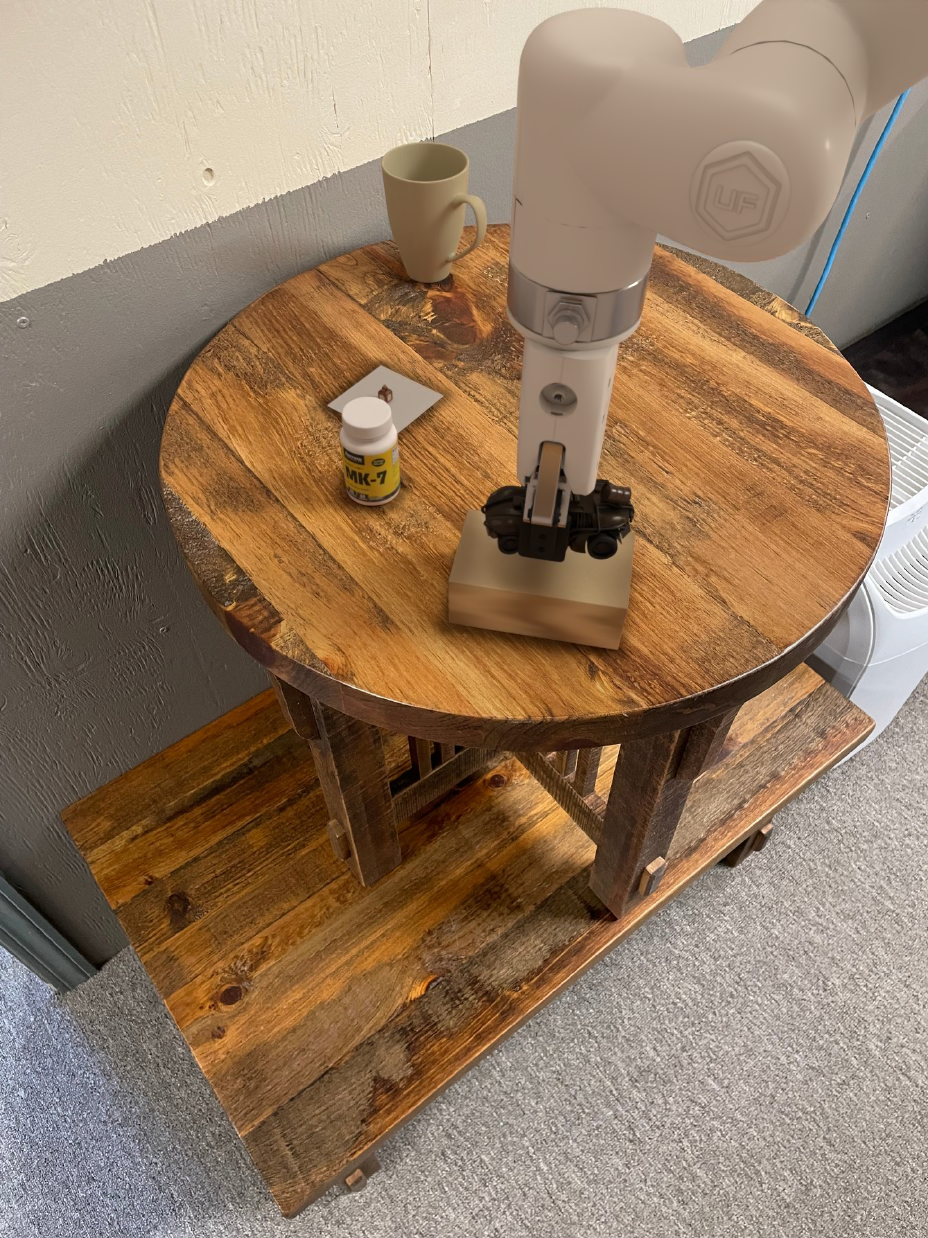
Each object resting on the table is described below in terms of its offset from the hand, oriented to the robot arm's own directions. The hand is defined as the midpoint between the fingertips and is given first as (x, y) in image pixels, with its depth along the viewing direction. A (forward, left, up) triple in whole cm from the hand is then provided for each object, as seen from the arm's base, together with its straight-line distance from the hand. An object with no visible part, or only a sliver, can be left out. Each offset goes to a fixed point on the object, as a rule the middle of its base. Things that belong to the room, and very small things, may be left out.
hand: (548, 518), depth 61 cm
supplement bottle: (+16, -9, -9) cm, 21 cm away
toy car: (0, 0, -1) cm, 1 cm away
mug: (+18, -44, -9) cm, 49 cm away
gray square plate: (+18, -21, -9) cm, 30 cm away
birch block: (0, 0, -9) cm, 9 cm away
